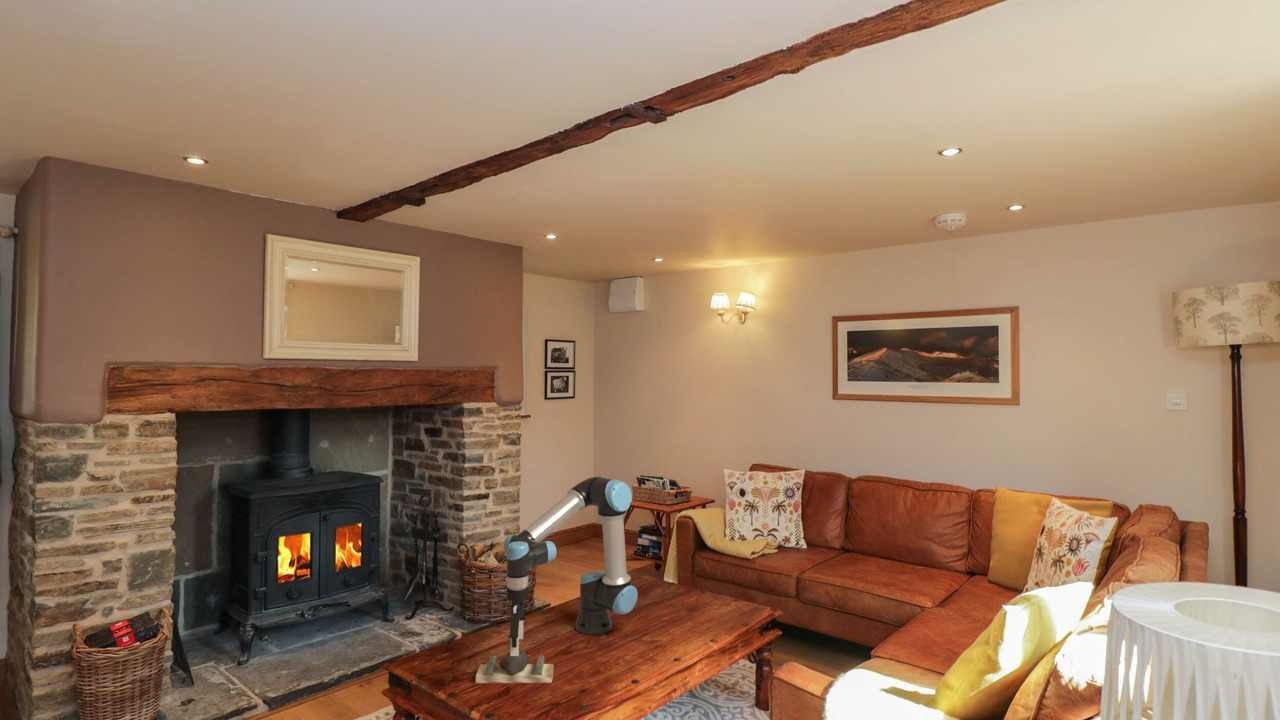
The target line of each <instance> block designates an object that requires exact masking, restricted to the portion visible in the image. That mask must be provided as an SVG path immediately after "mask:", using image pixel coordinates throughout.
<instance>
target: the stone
mask: <svg viewBox="0 0 1280 720" xmlns="http://www.w3.org/2000/svg"><path fill="white" fill-rule="evenodd" d="M499 664H500V667H502V668H506V669H508V670H509V671H510V673H511V675H514V674H516V673H517V672H518V671H520V670H524V669H525V667H526V666H527V664H529V657H528V655H527V653H526V652H525V651H524V650H522V649H520V648H519V656H510V651H508V652H507V653H506V654H504V656H503V657H502V658H501V659H500V662H499Z"/></svg>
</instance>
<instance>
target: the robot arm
mask: <svg viewBox="0 0 1280 720" xmlns="http://www.w3.org/2000/svg"><path fill="white" fill-rule="evenodd" d="M566 494H567V495H566V496H564V497H563V498H562V499H560V500H559V501H558V502H557V503H556V504H554V505H553V506H552V507H550V508H549V509H548V510H547V511H545V512H544V513H543V514H542V515H540V517H538V518H537V519H536V520H535V521H533V522H532V523H531V524H529V525H528V526H527V527H526V528H525V529H523V530H522V531H521V532H520V533H518V534H509V535H507V536H506V537H505V539H504V542H503V549H504V552H505V553H506V556H505V558H506V577H504V581H506V587H507V588H506V599H507V600H508V601H510V602H511V605H510V627H509V629H510V630H509V631H510V632H509V635H508V639H510V643H509V644H510V649H509V650H510V651H509V652H510V656H519V649H520V648H519V647H520V646H519V645H520V641H519V640H524V621H526V616H525V613H524V612H525V611H524V609H525V608H524V601H525V600H527V598H529V587H528V586H529V568H533V567H536V566H540V565H544V564H546V565H547V564H548V563H550V562H553V561H555V559H556V557H557V547H556V545H555V543H554V542H553V541H550V540H547V541H545V540H544V539H546V538H547V537H548V536H549V535H551V534H552V533H553V532H554V531H555V530H556V529H557V528H558V529H559V527H560V526H561V525H562V524H564V522H566V521H567V520H568V519H570V518H572V516H573V515H575V514H576V513H577V512H578V511H583V510H585V509H586V508H587V507H590V506H596V508H597V515H598V516H599V517H600V518H601V523H602V536H603V537H602V539H603V554H604V570H594V571H593V570H592V571H587V572H584V573H582V575H581V576H580V585H579V587H580V589H579V594H580V595H579V603H580V604H579V612H578V614H577V618H576V620H575V630H576V631H577V632H579V633H580V634H584V635H592V636H593V635H595V636H596V635H602V634H605V633H608V632H610V631H611V630H612V626H613V625H612V623H613V622H612V619H611V616H610V611H611V612H613V613H615V614H619V615H626V614H628V613H630V612H631V611H632V610H633V609H634V607H635V606H636V604H637V601H638V595H639V593H638V589H637V588H636V587H635V586H634V585H632V581H631V580H632V577H631V575H630V574H628V571H627V570H628V569H627V557H626V556H627V555H626V553H627V552H626V542H625V541H626V539H625V538H626V537H625V525H624V516H625V515H626V514H627V512H628V511H627V510H628V509H629V508H630V506H631V503H632V501H633V495H632V491H631V488H630V486H629V485H628V484H627V483H626V482H624V481H621V480H618V479H612V478H606V477H601V476H593V477H588V478H587V479H584V480H582V481H581V482H579V483H577V484H576V485H574V486H573V487H572V488H570V489H569V490H568V491H567V493H566ZM543 540H544V541H543Z"/></svg>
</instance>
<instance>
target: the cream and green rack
mask: <svg viewBox="0 0 1280 720" xmlns="http://www.w3.org/2000/svg"><path fill="white" fill-rule="evenodd" d="M536 660H537V661H536V663H528V664H527V666H526V667H525V669H524V670H520V671H518V672H517V673H516V674H514V675H511V673H510V671H509V670H508V669H506V668H502V667H500V663H497V655H490V656H489V659H488V662H487V663H481V664H480V665H479V667H478V669H477V671H476V675H475V684H526V683H527V684H531V683H533V684H534V683H537V684H539V683H541V684H542V683H543V684H544V683H545V684H546V683H547V684H548V683H549V684H550V683H551V684H552V681H553V675H554V667H555V665H554V663H545V655H538V656H537V659H536Z"/></svg>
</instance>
